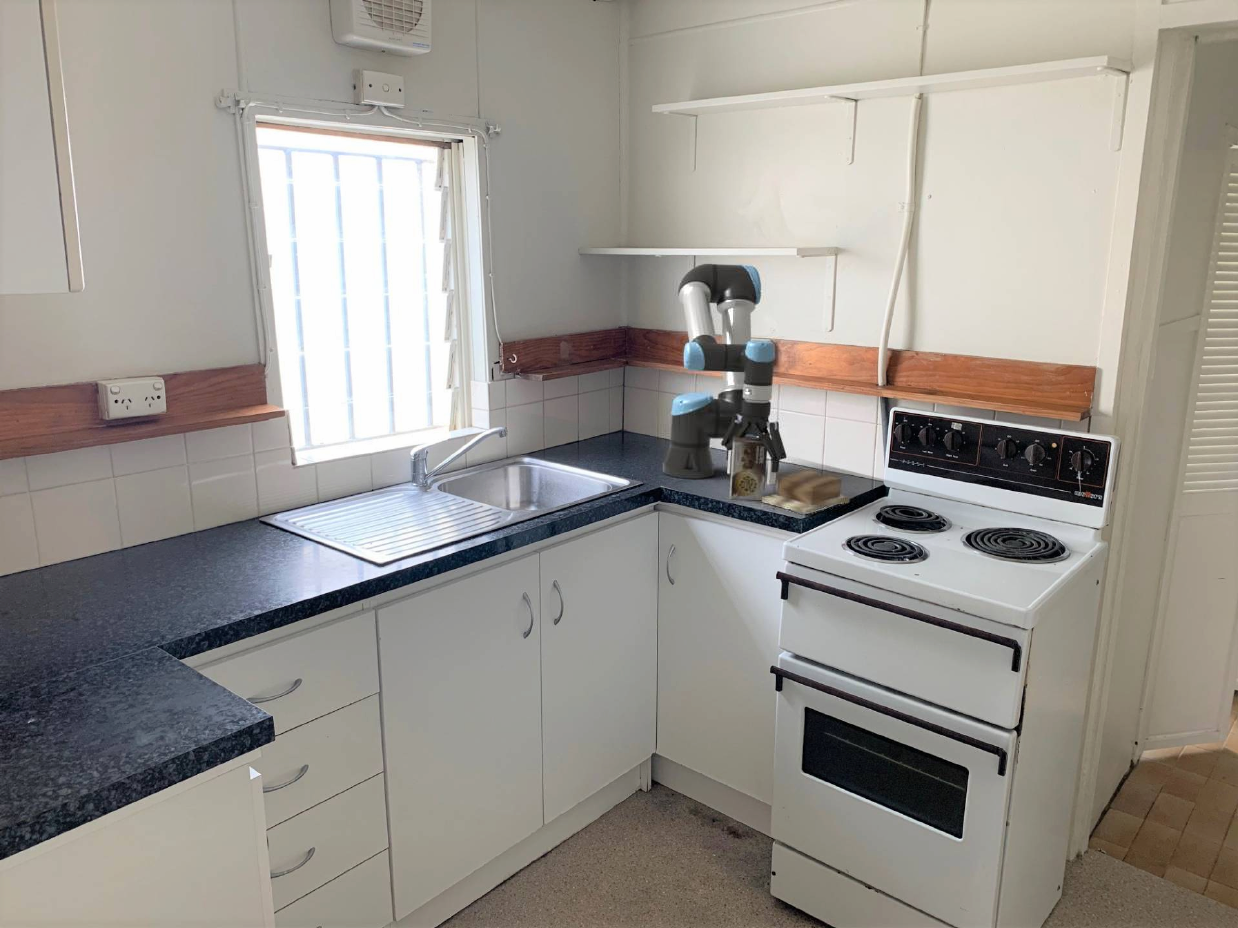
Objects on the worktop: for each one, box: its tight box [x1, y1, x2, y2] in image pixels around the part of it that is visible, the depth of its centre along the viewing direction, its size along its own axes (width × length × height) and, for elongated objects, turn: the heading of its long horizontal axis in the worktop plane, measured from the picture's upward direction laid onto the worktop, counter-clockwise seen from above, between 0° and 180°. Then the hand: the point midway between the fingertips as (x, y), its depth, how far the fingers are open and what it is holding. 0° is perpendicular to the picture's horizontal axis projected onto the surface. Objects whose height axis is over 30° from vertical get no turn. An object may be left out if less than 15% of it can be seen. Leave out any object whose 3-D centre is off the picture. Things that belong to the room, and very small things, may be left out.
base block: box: [776, 469, 842, 505], centre depth 245 cm, size 11×13×5 cm
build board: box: [761, 492, 851, 513], centre depth 245 cm, size 14×20×2 cm
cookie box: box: [729, 436, 768, 501], centre depth 246 cm, size 9×6×16 cm
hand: (750, 478), depth 246 cm, fingers open, 13 cm apart
